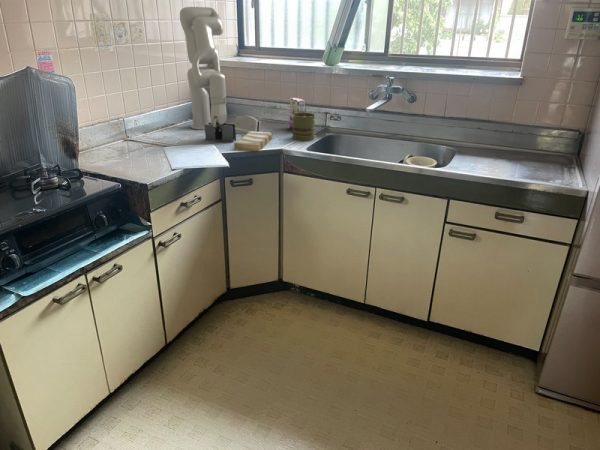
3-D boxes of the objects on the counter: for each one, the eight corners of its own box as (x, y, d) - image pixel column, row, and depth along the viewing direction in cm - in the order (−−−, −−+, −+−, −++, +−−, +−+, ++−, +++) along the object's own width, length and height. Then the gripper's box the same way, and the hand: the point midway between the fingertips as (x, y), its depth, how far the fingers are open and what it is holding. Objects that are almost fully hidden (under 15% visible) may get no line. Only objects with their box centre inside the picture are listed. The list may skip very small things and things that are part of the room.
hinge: (230, 131, 239) (233, 112, 238) (236, 132, 243) (239, 114, 242) (253, 136, 230) (257, 117, 229) (259, 137, 234) (263, 118, 233)
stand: (250, 137, 229) (249, 130, 227) (272, 138, 227) (272, 132, 225) (234, 149, 207) (234, 142, 206) (259, 151, 205) (259, 144, 204)
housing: (209, 138, 225) (208, 122, 222) (236, 140, 223) (235, 124, 220) (205, 140, 221) (204, 124, 218) (232, 142, 219) (231, 126, 215)
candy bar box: (305, 131, 242) (306, 100, 235) (297, 132, 240) (297, 101, 233) (297, 127, 251) (297, 97, 244) (289, 127, 249) (289, 97, 242)
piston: (291, 116, 219) (293, 112, 229) (291, 140, 224) (293, 135, 234) (314, 117, 218) (315, 112, 228) (313, 141, 223) (315, 136, 233)
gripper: (217, 97, 222) (219, 133, 230) (204, 103, 207) (207, 141, 215) (232, 98, 221) (233, 134, 228) (219, 104, 206) (221, 142, 213)
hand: (220, 137), depth 221 cm, fingers closed on housing, 5 cm apart
